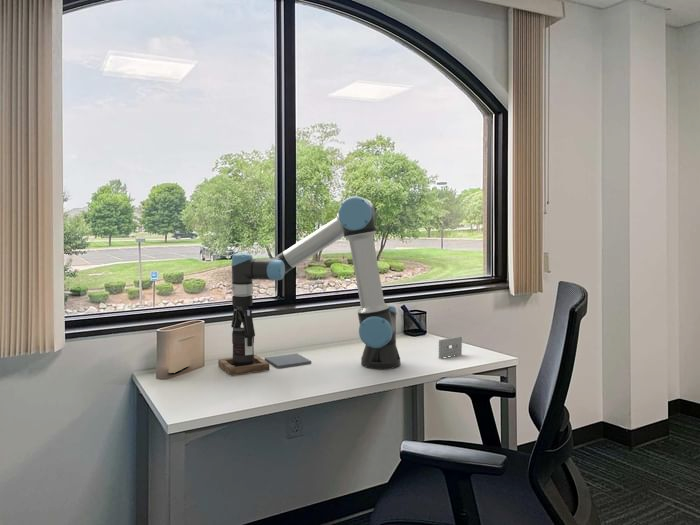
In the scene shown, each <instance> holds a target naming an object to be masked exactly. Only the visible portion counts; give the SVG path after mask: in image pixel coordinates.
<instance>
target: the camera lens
mask: <svg viewBox="0 0 700 525" xmlns="http://www.w3.org/2000/svg"><path fill="white" fill-rule="evenodd" d="M231 334H232V335H231V341H232V343H231V344H232V358H233V364H234V365H233V367H236V366H244V365H251V364H254V363H253V362H254V355H255V354H254V353H255V349H254V345H255V336H254V337H253V355H245V338H244V336H246V335H245V331H244V327H241V328H234V329H233V328H232V332H231Z"/></svg>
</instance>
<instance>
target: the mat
mask: <svg viewBox="0 0 700 525" xmlns="http://www.w3.org/2000/svg"><path fill="white" fill-rule="evenodd" d="M264 360H265V361H266V362H268V363H269V365H272V366H273V367H275V368H276V369H282V368H283V369H284V368H289V367H297V366H304V365H310V364H311V365H312V360H310V359H308V358H306V357H304V356H303V355H301V354H299V353H298V352H297V353H289V354H282V355H275V356H267V357H264Z"/></svg>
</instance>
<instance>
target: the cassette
mask: <svg viewBox="0 0 700 525" xmlns="http://www.w3.org/2000/svg"><path fill="white" fill-rule="evenodd" d="M462 342H463V337H462V336H455V337H447V338H442V339H438V359H439V358H442V357H448V356H454V355H459V354H461V355H462V354H463V353H462V352H463V351H462V350H463V349H462V347H463V345H462V344H463V343H462ZM459 356H460V355H459ZM442 359H443V358H442Z"/></svg>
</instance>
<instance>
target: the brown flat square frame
mask: <svg viewBox="0 0 700 525" xmlns="http://www.w3.org/2000/svg"><path fill="white" fill-rule="evenodd" d="M217 360H218V362H217V363H218V367H219V368H220V367H221V368H220V369H221V370H222V371H224V372H225V371H226V372H227V373H226V372H225V373H226V374H227V375H229V376H230V375H232V376H237V375H238V374H239V375H245V374H252V373H258V372H266V371H270V363H268V362H267V361H265V359H263V358H261V357H260V356H258V355H257V354H254V362H253V364H251V365H244V366H236V367H234V364H233V357H228V358H221V359H217Z"/></svg>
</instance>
